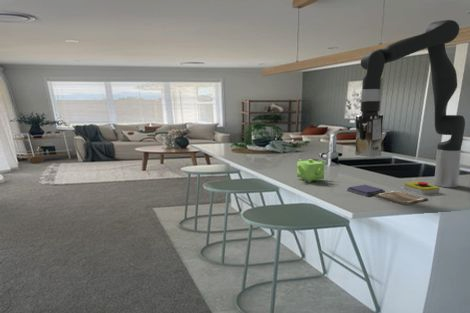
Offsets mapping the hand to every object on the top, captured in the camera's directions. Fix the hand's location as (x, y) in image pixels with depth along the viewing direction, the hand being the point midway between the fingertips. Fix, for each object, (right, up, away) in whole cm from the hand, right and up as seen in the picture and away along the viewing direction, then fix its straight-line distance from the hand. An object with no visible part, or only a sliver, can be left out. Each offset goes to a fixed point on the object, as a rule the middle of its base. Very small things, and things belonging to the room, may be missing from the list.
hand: (368, 139), depth 136 cm
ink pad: (0, -23, +4) cm, 24 cm away
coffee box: (0, -7, +1) cm, 7 cm away
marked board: (+11, -25, -6) cm, 28 cm away
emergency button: (+25, -24, +5) cm, 35 cm away
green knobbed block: (-18, -20, +28) cm, 39 cm away
